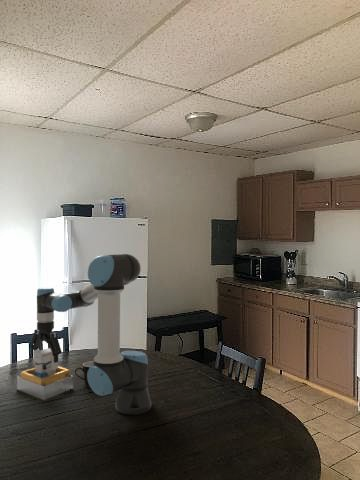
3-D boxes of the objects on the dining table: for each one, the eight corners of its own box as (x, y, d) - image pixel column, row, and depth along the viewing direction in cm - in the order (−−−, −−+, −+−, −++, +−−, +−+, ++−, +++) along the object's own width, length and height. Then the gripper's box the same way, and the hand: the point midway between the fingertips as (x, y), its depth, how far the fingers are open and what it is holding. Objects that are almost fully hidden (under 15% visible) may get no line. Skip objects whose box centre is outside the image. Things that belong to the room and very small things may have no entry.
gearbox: (73, 388, 186) (73, 370, 186) (43, 400, 173) (43, 380, 172) (41, 377, 199) (41, 360, 199) (12, 387, 186) (12, 369, 186)
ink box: (41, 379, 180) (41, 353, 179) (34, 377, 182) (34, 351, 182) (56, 374, 187) (56, 349, 186) (49, 372, 189) (50, 347, 189)
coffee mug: (103, 381, 195) (103, 361, 195) (97, 388, 186) (98, 367, 186) (80, 380, 196) (80, 360, 196) (73, 387, 187) (74, 366, 187)
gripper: (69, 322, 180) (69, 369, 180) (36, 316, 195) (36, 359, 195) (55, 325, 174) (55, 373, 174) (22, 318, 188) (22, 363, 189)
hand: (45, 366), depth 185 cm, fingers open, 13 cm apart
